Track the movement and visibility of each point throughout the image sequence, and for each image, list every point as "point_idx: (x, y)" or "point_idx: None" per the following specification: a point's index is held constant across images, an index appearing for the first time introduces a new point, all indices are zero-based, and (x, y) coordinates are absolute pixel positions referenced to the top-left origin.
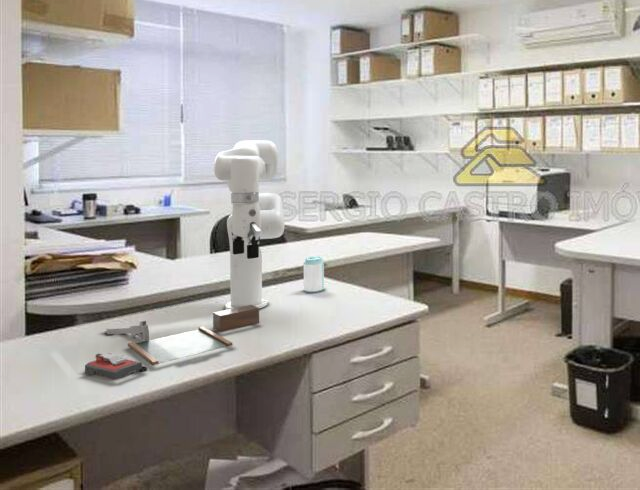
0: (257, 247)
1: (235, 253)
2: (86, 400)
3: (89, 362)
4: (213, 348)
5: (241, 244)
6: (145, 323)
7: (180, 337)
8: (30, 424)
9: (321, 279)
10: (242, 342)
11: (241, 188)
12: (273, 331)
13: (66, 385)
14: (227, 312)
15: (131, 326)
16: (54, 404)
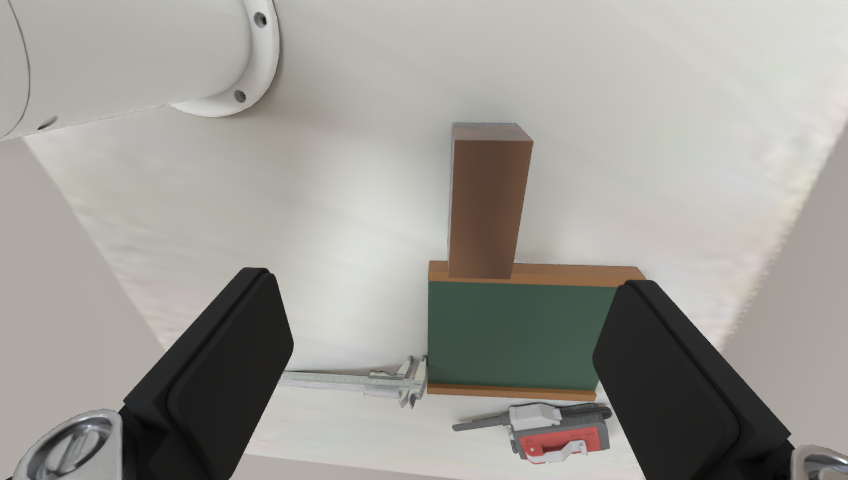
0: (732, 389)
1: (290, 344)
2: (618, 455)
3: (523, 458)
4: None
5: (224, 376)
6: (412, 398)
7: (463, 323)
8: None
9: None
10: (610, 228)
11: None
12: (611, 111)
13: None
14: (489, 249)
15: (370, 395)
16: (591, 471)
